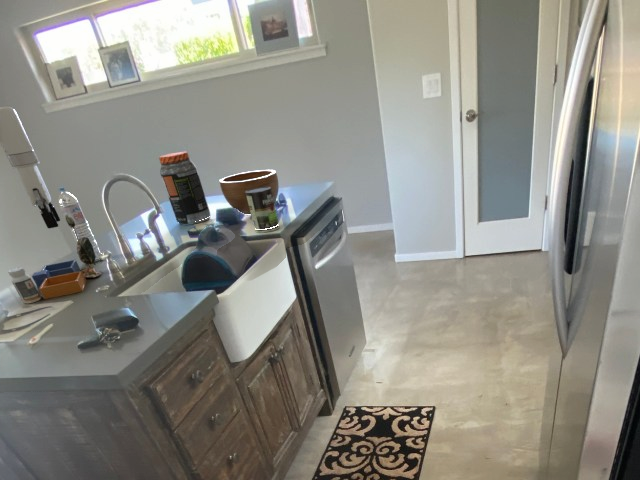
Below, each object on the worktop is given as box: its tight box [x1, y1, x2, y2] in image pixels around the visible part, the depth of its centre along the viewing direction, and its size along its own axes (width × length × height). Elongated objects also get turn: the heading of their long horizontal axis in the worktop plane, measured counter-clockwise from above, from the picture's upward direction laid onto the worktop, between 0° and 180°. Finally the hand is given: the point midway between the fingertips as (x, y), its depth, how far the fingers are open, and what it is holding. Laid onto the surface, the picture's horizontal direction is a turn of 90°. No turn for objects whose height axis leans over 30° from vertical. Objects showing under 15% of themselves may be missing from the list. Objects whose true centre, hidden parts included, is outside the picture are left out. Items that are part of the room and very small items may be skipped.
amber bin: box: [38, 270, 87, 300], centre depth 176 cm, size 12×12×4 cm
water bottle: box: [57, 186, 102, 263], centre depth 196 cm, size 7×7×25 cm
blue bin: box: [40, 259, 81, 277], centre depth 190 cm, size 11×11×4 cm
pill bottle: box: [7, 266, 42, 304], centre depth 169 cm, size 6×6×10 cm
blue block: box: [31, 270, 51, 290], centre depth 182 cm, size 5×5×5 cm
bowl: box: [219, 169, 280, 215], centre depth 228 cm, size 25×25×15 cm
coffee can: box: [245, 187, 280, 234], centre depth 206 cm, size 10×10×14 cm
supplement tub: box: [158, 151, 211, 226], centre depth 230 cm, size 16×16×26 cm
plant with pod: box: [64, 215, 103, 278], centre depth 181 cm, size 8×11×20 cm
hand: (54, 224), depth 164 cm, fingers open, 9 cm apart
